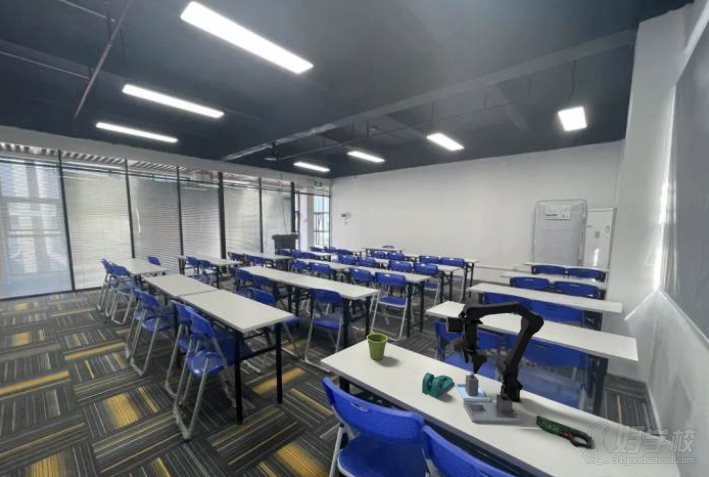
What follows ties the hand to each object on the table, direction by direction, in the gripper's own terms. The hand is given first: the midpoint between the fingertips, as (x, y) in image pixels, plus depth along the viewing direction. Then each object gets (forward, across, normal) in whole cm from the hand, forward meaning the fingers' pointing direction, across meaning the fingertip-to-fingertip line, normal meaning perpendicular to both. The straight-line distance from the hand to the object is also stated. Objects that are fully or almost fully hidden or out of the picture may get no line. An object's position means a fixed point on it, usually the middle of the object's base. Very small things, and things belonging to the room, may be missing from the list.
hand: (470, 368), depth 122 cm
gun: (+13, +22, +24) cm, 35 cm away
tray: (+12, 0, +1) cm, 12 cm away
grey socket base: (+12, +14, +2) cm, 18 cm away
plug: (+11, 0, +1) cm, 11 cm away
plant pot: (+11, -33, -39) cm, 52 cm away
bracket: (+12, -4, -12) cm, 18 cm away
